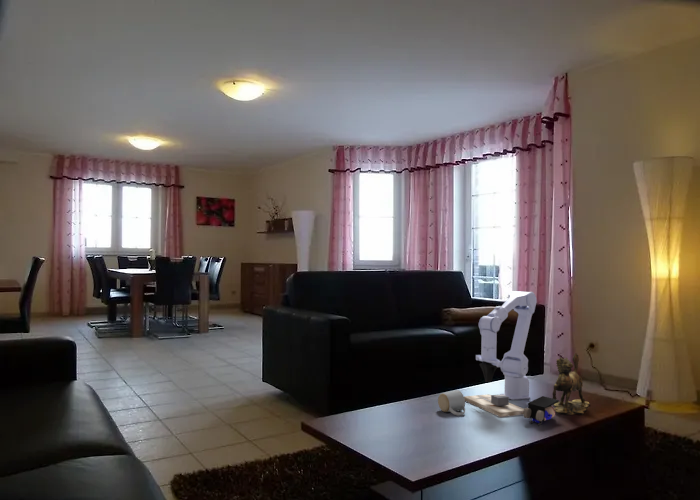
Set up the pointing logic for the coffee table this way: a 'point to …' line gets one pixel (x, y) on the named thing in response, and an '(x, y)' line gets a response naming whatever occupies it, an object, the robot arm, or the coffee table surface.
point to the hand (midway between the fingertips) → (488, 382)
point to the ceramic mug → (452, 402)
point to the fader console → (494, 406)
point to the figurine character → (540, 409)
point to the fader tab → (500, 400)
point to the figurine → (569, 388)
